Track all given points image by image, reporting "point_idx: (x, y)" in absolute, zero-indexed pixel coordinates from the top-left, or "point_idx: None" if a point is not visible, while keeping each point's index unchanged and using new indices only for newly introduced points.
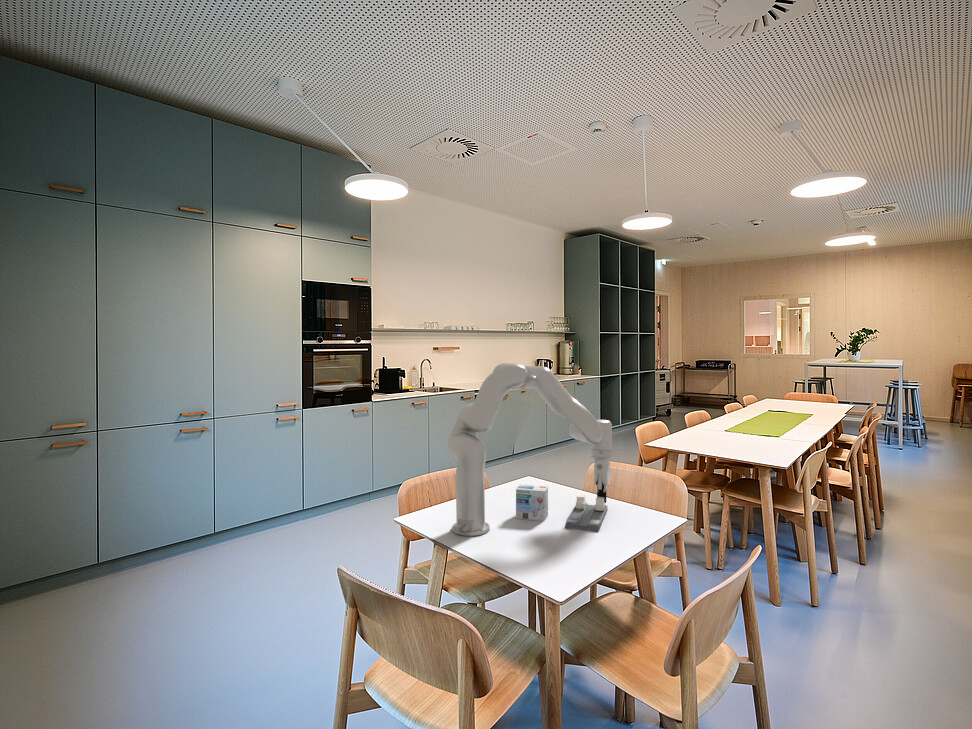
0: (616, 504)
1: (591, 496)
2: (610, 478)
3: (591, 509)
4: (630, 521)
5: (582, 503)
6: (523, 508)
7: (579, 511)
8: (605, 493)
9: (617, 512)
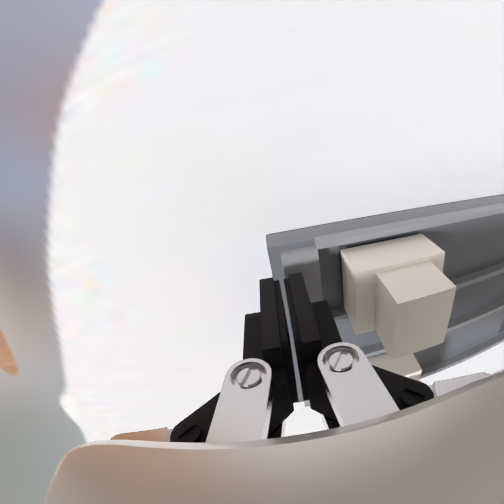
0: (93, 227)
1: (82, 372)
2: (70, 462)
3: None
4: (417, 36)
5: (419, 375)
6: None
7: (430, 347)
8: (318, 335)
9: (272, 151)
